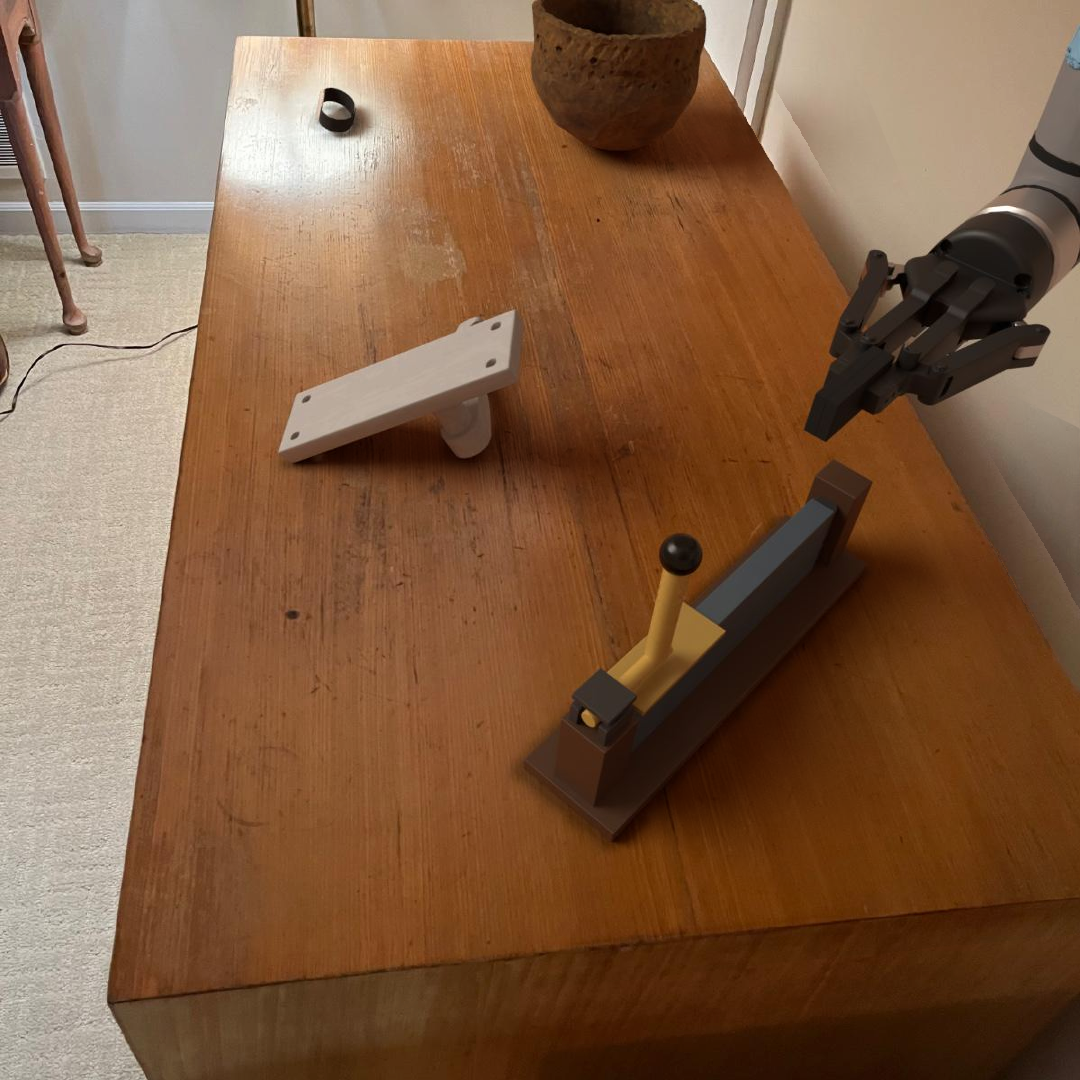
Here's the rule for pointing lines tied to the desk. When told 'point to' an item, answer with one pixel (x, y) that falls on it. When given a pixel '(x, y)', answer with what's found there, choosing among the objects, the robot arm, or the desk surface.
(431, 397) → the handle
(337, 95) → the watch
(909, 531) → the desk surface
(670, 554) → the bolt
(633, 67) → the bowl
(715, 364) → the desk surface
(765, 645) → the sliding lever mechanism
